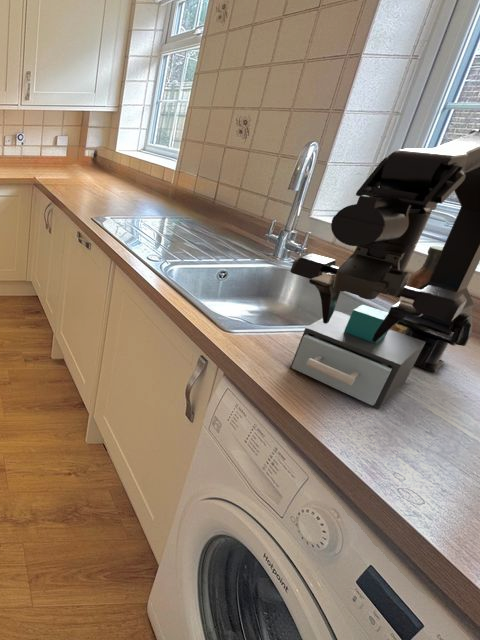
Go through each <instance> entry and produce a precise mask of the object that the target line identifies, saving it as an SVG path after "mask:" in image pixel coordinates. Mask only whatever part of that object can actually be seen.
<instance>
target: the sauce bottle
mask: <svg viewBox="0 0 480 640" xmlns="http://www.w3.org/2000/svg"><path fill="white" fill-rule="evenodd" d="M443 247H444V246H436V245H431V246H429V248H428V249H427V256H426V258H425V260H424V262H423V263H422V266H421V268H419V269H418V270H416V271H415V272H412V274H411V275H410V277H408V280H407V283H406V286H408V287H412V288H415V289H418V288H419V287H421V286H423V285H425V284H427V283H428V281H429V279H430V276H431V274H432V272H433V270H434V267H435V265H436V263H437V261H438V258H439V256H440V254H441V252H442V249H443ZM406 329H407V327H404V326H402V325H398V324H396V325H394V326H393V327H392V328H391V329H390V330H393V331H396V332H399V333H402V334H404V333H405V331H406Z"/></svg>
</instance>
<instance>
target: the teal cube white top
mask: <svg viewBox="0 0 480 640" xmlns="http://www.w3.org/2000/svg"><path fill="white" fill-rule="evenodd" d="M388 313H389V312H387V311H384V310H381V309H378V308H375V307H372V306H369V305H366V304H360V305H359V306H357V307H355V308H354V309H353V310H352V312H351V314H350V319H349V321H348V324H347V326H346V328H345V331H344V332H346V333H349V334H352V335H354V336H357V337H360V338H362V339H365V340H368V341H370V342H373V341H372V339H373V337H374V334H375V332H376V331H377V329H378V328H379V326H380V325H381V324H382V322H383V321H384V319H385V318H386V316H387V315H388ZM386 334H387V332H386V333H385V334H384V335H383V336H382V337H381V338H380V339H379V340H377V341H376V342H373V343H376V344H377V343H378V342H379V341H381V340H382V339H383V338H385V336H386Z"/></svg>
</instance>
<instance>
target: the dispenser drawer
mask: <svg viewBox="0 0 480 640" xmlns="http://www.w3.org/2000/svg"><path fill="white" fill-rule="evenodd" d="M297 349H298V348H297ZM292 362H293V361H292ZM391 368H392V366H390V365H387V364H385V363H382V362H380V361H377V360H375V359H372V358H370V357H367V356H365V355H362V354H360V353H357V352H355V351H352V350H350V349H347V348H345V347H342V346H340V345H337V344H335V343H332V342H330V341H327V340H325V339H322V338H320V337H317V336H315V335H314V336H313V337H312V336H309V335H307V334H306V335H305V336H303V339H302V342H301V344H300V347H299V349H298V352H297V355H296V357H295V360H294V362H293V365H292V368H291V369H293V370H295V371H297V372H299V373H301V374H303V373H304V375H305V374H306V376H308V377H310V378H312V379H313V380H316V381H318V382H320V381H321V382H320V383H322V382H323V384H324V385H326V386H329V387H330V388H334V389H335V388H336V389H335V390H337V389H338V391H339V392H341V393H344V394H346V395H348V396H351V397H352V396H353V398H354V397H355V398H354V399H357V400H359V401H361V402H363V403H365V404H367V403H368V404H367V405H369V404H370V406H372V407H374V406H373V405H374V404H375V403H376V401H377V399H378V397H379V395H380V393H381V391H382V388H383V386H384V384H385V382H386V380H387V378H388V376H389V374H390V372H391V370H392V369H391Z"/></svg>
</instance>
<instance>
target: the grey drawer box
mask: <svg viewBox="0 0 480 640" xmlns="http://www.w3.org/2000/svg"><path fill="white" fill-rule="evenodd" d="M350 316H351V314H350V315H349V314H347V313H344V312H341V311H338V310H334V312H333V315H332V317H331V319H330V321H329V322H328V323H327V324H325V323H323V317H322V318H320V319H318V320H316V321H314V322H313V323H311V324H309V325H307V326H306V327H304V330H303V333H302V336H301V338H300V340H299V342H298V343H299V344H298V346H297V349H296V351H295V354H294V356H293V359H292V361H291V364H290V368H291V369H293V368H292V365H293V362H294V360H295V357H296V355H297V352H298V349H299V347H300V344H301V342H302V339H303V336H305V335H306V334H307V335H309V336H312V337H313V336H314V335H315V336H317V337H320V338H322V339H325V340H327V341H330V342H332V343H335V344H337V345H340V346H342V347H345V348H347V349H350V350H352V351H355V352H357V353H360V354H362V355H365V356H367V357H370V358H372V359H375V360H377V361H380V362H382V363H385V364H387V365H390V366H392V368H391V369H392V370H391V372H390V374H389V376H388V378H387V380H386V382H385V384H384V386H383V388H382V391H381V393H380V395H379V397H378V399H377V401H376V403H375V404H374V405H373V406H372V407H374V408H375V409H378V410H379V409H381V408H382V406H383V405H385V404H386V403H387V401H388V400H390V398H391V397H392V396H393V395H394V394H395V393H397V392H398V390H400V388H401V387H403V385H405V383H406V382H407V379H408V377H409V375H410V374H411V372H412V369H413V367H414V366H415V365H414V364H415V362H416V360H417V358H418V356H419V354H420V352H421V350H422V348H423V346H424V344H425V341H422V340H419V339H416V338H413V337H410V336H407V335H404V334H402V333H399V332H396V331H393V330H389V331H388V332H387V334H386V336H385V338H383V339H382V340H381V341H379V342H378V343H377V344H376V343H373V342H370V341H368V340H365V339H362V338H360V337H357V336H354V335H352V334H349V333H346V332H344V331H345V328H346V326H347V324H348V321H349V319H350ZM303 374H304V373H302V375H303ZM304 375H306V374H304ZM306 376H307V375H306ZM319 382H320V383H323V382H321V381H319ZM323 384H324V383H323ZM334 389H335V390H338V389H336V388H334ZM338 391H339V390H338ZM351 397H353V396H351ZM353 398H354V399H356V398H355V397H353ZM366 404H367V405H370V404H368V403H366ZM370 406H371V405H370Z"/></svg>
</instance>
